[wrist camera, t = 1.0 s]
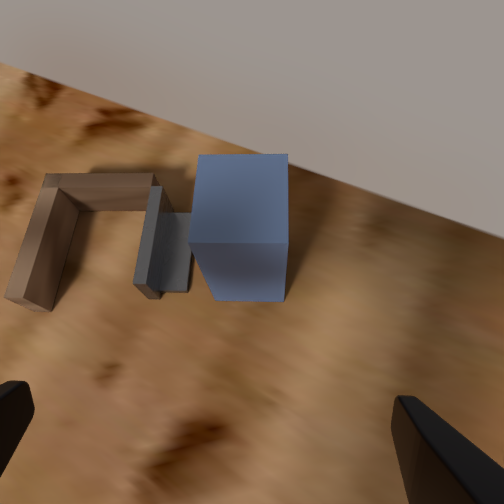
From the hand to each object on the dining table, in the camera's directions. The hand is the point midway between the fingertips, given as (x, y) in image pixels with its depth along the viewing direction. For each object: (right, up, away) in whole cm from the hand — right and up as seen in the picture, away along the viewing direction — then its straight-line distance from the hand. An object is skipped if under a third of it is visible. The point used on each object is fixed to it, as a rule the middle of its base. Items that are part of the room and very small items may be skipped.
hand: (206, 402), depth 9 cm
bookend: (-5, +4, +17) cm, 18 cm away
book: (+1, +3, +16) cm, 16 cm away
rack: (-9, +4, +17) cm, 20 cm away
